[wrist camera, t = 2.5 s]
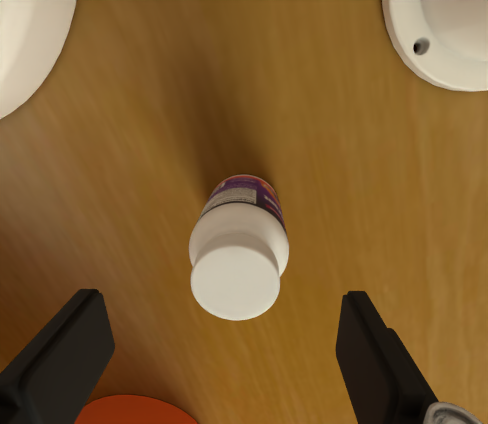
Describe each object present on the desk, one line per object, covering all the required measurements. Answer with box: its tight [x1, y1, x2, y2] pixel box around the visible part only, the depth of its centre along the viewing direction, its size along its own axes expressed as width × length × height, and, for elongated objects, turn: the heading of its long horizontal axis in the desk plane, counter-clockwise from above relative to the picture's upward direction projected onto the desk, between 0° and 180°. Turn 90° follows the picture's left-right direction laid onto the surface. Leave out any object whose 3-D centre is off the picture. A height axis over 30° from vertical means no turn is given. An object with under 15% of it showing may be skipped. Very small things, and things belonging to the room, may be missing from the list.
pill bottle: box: [189, 174, 289, 320], centre depth 17 cm, size 5×5×10 cm
